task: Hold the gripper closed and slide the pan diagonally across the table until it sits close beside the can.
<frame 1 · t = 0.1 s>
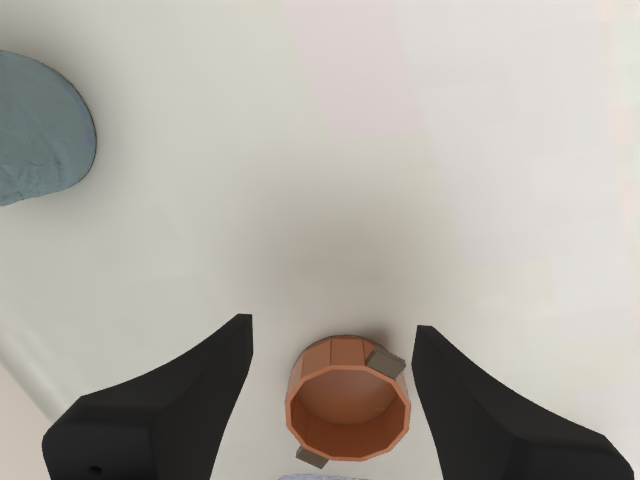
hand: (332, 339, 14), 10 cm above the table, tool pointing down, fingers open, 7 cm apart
pan: (345, 381, 27), on the table
grey piece: (33, 125, 22), on the table
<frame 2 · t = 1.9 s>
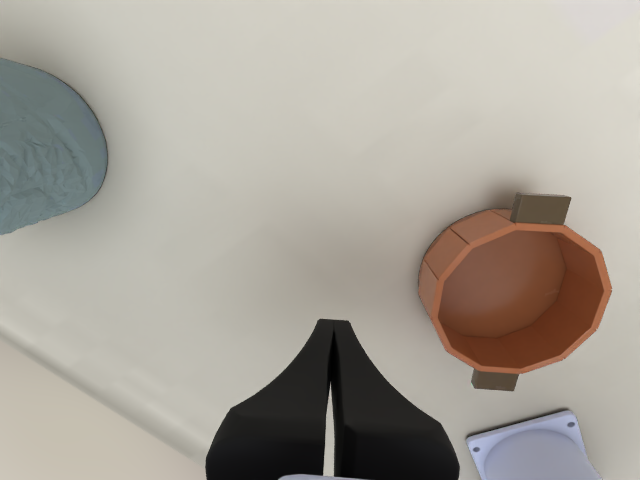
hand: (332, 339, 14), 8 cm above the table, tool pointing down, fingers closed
pan: (489, 277, 21), on the table
grey piece: (39, 143, 20), on the table
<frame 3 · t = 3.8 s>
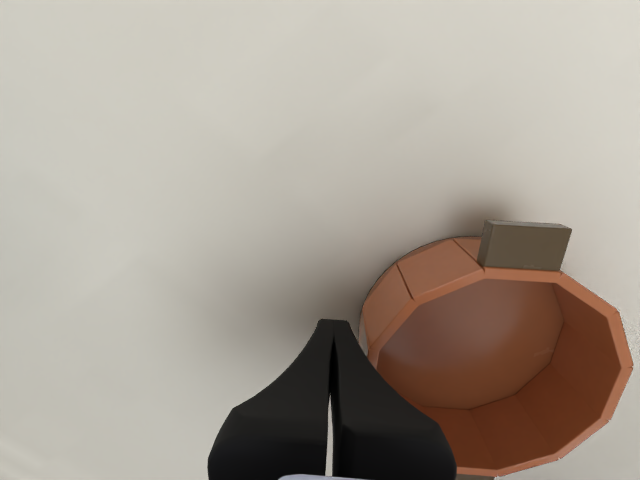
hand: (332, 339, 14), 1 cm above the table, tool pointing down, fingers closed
pan: (457, 329, 15), on the table, touching gripper
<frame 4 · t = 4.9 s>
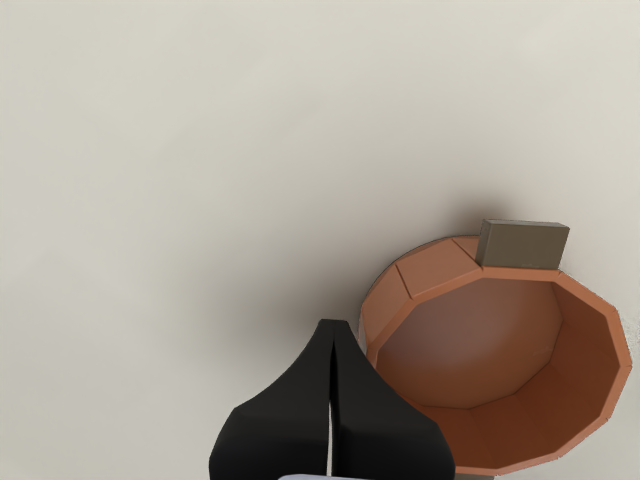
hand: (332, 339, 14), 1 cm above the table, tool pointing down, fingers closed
pan: (456, 328, 15), on the table, touching gripper
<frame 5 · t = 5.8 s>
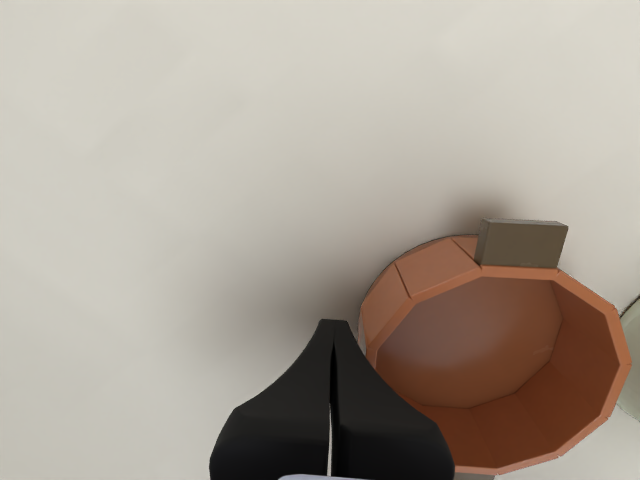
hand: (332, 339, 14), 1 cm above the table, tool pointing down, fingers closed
pan: (456, 328, 15), on the table, touching gripper
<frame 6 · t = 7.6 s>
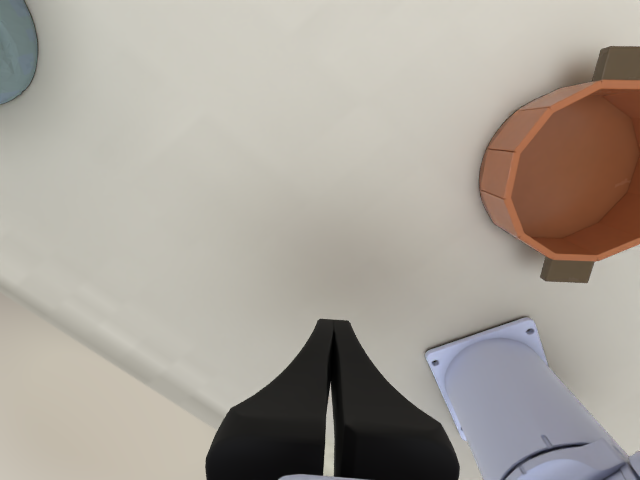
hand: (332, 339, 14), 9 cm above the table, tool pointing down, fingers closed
pan: (555, 170, 20), on the table
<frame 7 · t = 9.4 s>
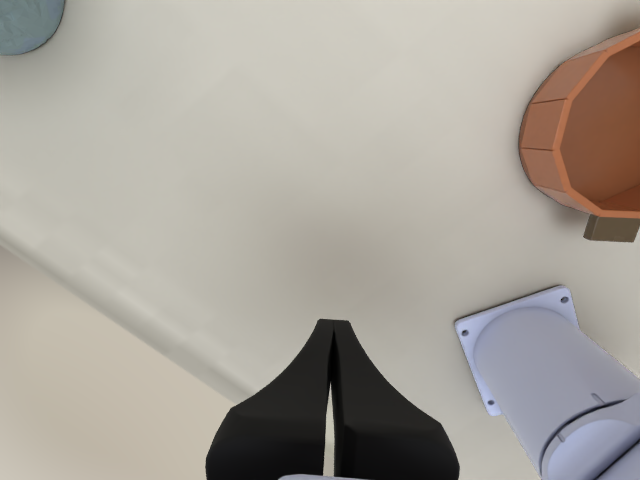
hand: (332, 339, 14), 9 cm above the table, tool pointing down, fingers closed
pan: (598, 129, 19), on the table
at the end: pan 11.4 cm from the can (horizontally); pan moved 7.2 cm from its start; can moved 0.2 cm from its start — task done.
